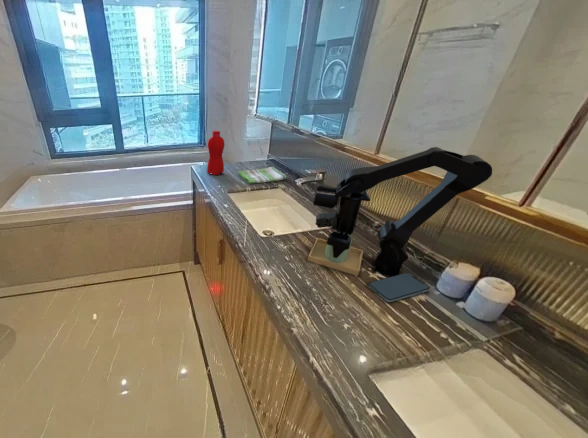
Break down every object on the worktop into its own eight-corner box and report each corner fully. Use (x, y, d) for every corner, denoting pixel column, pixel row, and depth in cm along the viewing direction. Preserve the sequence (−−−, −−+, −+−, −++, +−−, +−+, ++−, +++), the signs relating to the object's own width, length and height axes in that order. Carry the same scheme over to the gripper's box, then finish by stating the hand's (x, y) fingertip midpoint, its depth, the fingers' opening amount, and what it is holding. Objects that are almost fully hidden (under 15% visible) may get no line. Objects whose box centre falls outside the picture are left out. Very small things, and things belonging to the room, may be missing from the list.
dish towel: (286, 180, 160) (287, 174, 159) (249, 184, 155) (249, 178, 153) (272, 171, 175) (272, 165, 173) (237, 174, 170) (237, 169, 168)
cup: (347, 254, 97) (353, 234, 93) (344, 265, 92) (350, 244, 88) (326, 248, 100) (331, 229, 96) (322, 258, 95) (327, 238, 91)
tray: (362, 254, 97) (363, 250, 96) (357, 276, 88) (359, 271, 87) (316, 242, 105) (317, 237, 104) (307, 260, 95) (308, 256, 94)
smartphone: (367, 282, 83) (407, 271, 86) (365, 286, 84) (406, 275, 87) (389, 300, 77) (432, 287, 80) (387, 304, 78) (429, 292, 81)
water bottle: (225, 170, 176) (227, 129, 164) (220, 176, 167) (221, 133, 155) (211, 169, 179) (212, 128, 167) (205, 174, 170) (205, 132, 158)
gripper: (326, 194, 98) (317, 233, 106) (314, 216, 84) (305, 258, 92) (362, 201, 93) (350, 241, 100) (355, 225, 79) (342, 270, 87)
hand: (336, 251), depth 95 cm, fingers closed on cup, 7 cm apart
